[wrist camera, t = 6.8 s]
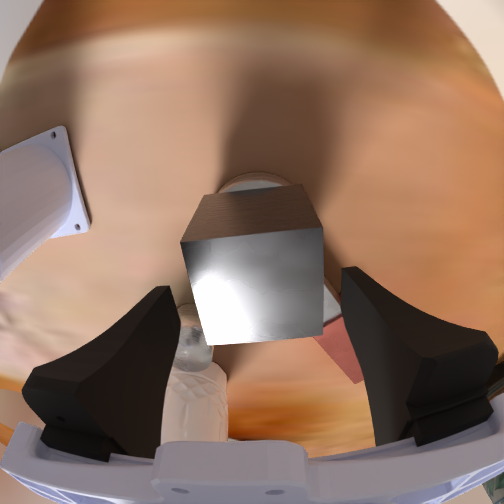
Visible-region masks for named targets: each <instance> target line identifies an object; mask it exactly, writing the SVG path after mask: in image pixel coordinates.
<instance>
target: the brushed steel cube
mask: <svg viewBox="0 0 504 504" xmlns="http://www.w3.org/2000/svg"><path fill="white" fill-rule="evenodd" d="M180 244H181V249H182V253H183V257H184V261H185V265H186V268H187V272H188V276H189V280H190V284H191V288H192V291H193V295H194V299H195V302H196V306H197V309H198V313H199V317H200V320H201V324H202V327H203V330H204V334H205V337H206V341H207V344H208V345H220V344H236V343H250V342H263V341H274V340H285V339H294V338H304V337H312V336H321V335H323V318H324V249H323V226H322V224H321V222H320V220H319V218H318V216H317V214H316V212H315V210H314V208H313V206H312V204H311V202H310V200H309V198H308V196H307V194H306V192H305V190H304V188H303V186H302V184H297V185H287V186H277V187H267V188H258V189H249V190H240V191H232V192H224V193H216V194H209V195H204V196H203V198H202V200H201V202H200V204H199V206H198V208H197V210H196V212H195V214H194V215H193V217H192V219H191V221H190V223H189V225H188V227H187V229H186V231H185V233H184V235H183V237H182V239H181V241H180Z"/></svg>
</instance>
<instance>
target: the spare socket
mask: <svg viewBox="0 0 504 504" xmlns="http://www.w3.org/2000/svg"><path fill="white" fill-rule="evenodd" d="M177 311H178V314H179V317H180V320H181V330H180V337H179V343H178V347H177V351H176V354H175V358H174V362H173V365H172V366H173V367H174V368H176V369H178V370H181V371H185V372H200V371H203V370H205V369H207V368H208V367H209V366H210V364H211V362H212V356H213V350H214V345H208V344H207V341H206V337H205V334H204V330H203V327H202V324H201V320H200V317H199V313H198V309H197V306H196V303H188V304H184V305H182V306H180V307H179V308H177Z"/></svg>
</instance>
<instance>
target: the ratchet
mask: <svg viewBox="0 0 504 504" xmlns="http://www.w3.org/2000/svg"><path fill="white" fill-rule="evenodd" d="M287 185H292V184H291V183H290V182H288V181H287V180H285V179H283V178H282V177H280V176H277V175H274V174H271V173H266V172H251V173H245V174H242V175H239V176H237V177H235V178H233V179H231V180H230V181H228V182H227V183H226V184H225V185H223V186H222V188H221V189H220V190H219V191H218V192H217V193H224V192H232V191H240V190H249V189H258V188H267V187H277V186H287ZM340 306H341V293H340V294H339V295H338V293H337V292H336V291H335V289H334V288H333V286H332V285H331V284H330V282H329V281H328V280H327V278H326V277H325V275H324V318H323V335H321V336H312V337H313V338H314V339H315V340H316V341H317V342H318V343H319V345H320V346H321V347H322V348H323V349H324V350H325V351H326V352H327V354H328V355H329V356H330V357H331V358H332V359H333V360H334V361H335V362H336V364H337V365H338V366H339V367H340V368H341V369H342V370H343V371H344V373H345V374H346V375H347V376H348V377H349V378H350V379H351V380H352V381H353V383H354V384H357V383H359V382H361V381H362V380H364V377H363V374H362V371H361V367H360V365H359V362H358V359H357V357H356V354H355V351H354V349H353V346H352V344H351V341H350V338H349V336H348V333H347V331H346V328H345V324H344V320H343V316H342V312H341V308H340Z"/></svg>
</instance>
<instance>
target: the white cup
mask: <svg viewBox="0 0 504 504" xmlns="http://www.w3.org/2000/svg"><path fill="white" fill-rule="evenodd" d="M172 441H208V442H228V401H227V376H226V374H225V372H224V371H223V370H222V369H221V367H220V366H219V365H218V364H216V363H214V362H211V364H210V366H209V367H208V368H207V369H205V370H203V371H200V372H185V371H181V370H178V369H176V368H174V367H173V366H172V369H171V372H170V376H169V379H168V383H167V388H166V393H165V400H164V408H163V418H162V429H161V445H162V444H164V443H166V442H172Z"/></svg>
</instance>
